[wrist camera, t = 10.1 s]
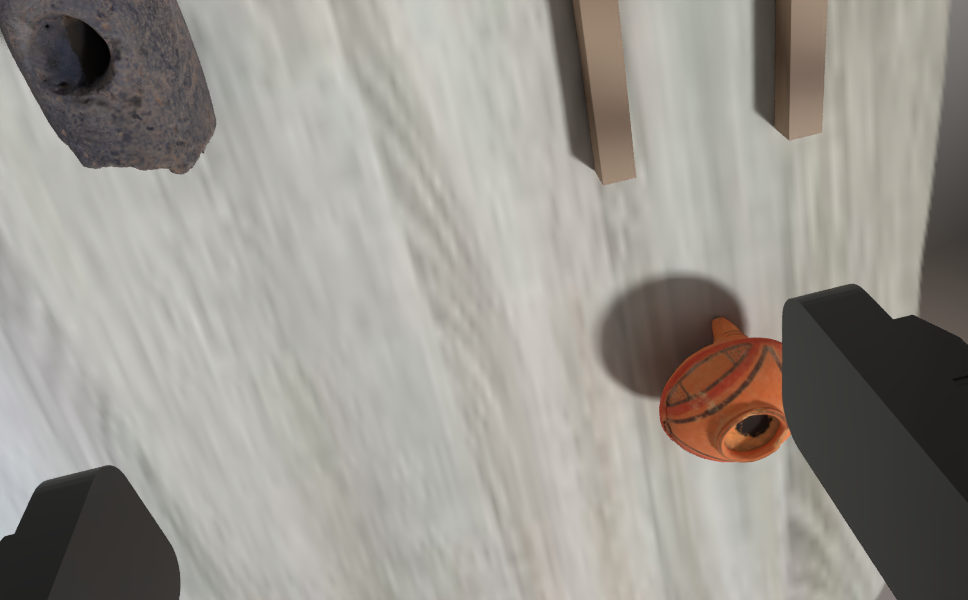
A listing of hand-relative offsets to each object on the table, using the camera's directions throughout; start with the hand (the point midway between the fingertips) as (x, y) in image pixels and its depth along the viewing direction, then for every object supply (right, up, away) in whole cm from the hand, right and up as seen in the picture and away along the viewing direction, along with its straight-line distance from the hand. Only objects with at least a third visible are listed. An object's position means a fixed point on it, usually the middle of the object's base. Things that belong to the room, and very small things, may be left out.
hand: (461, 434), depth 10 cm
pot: (+13, -2, +35) cm, 37 cm away
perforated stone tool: (-14, +15, +20) cm, 28 cm away
